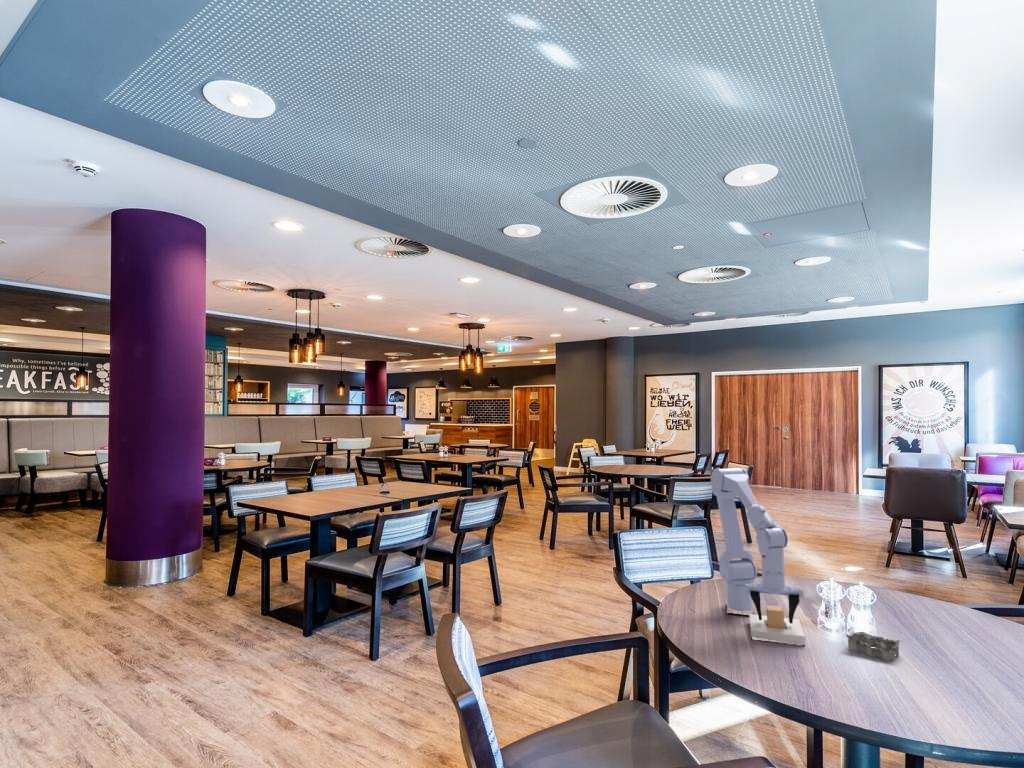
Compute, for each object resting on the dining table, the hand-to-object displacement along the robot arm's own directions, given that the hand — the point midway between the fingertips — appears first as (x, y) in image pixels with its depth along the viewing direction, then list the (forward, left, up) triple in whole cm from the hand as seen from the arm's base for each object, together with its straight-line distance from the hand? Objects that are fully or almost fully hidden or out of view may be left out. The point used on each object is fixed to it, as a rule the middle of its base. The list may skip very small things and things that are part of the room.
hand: (775, 620), depth 153 cm
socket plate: (0, 0, -4) cm, 4 cm away
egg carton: (+5, +22, -4) cm, 23 cm away
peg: (0, 0, -4) cm, 4 cm away
